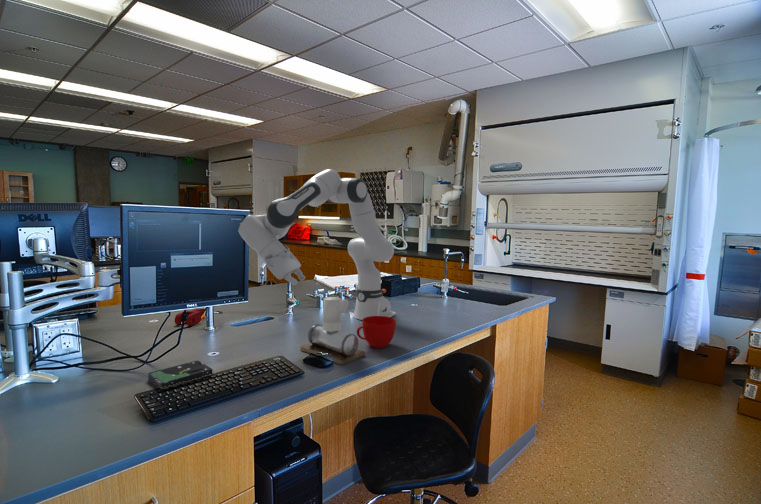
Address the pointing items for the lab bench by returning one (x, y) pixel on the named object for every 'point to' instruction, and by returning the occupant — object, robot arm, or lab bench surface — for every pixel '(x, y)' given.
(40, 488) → the lab bench surface
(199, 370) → the disk drive
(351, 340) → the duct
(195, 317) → the dark red rounded piece
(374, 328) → the ceramic cup
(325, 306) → the duct elbow
